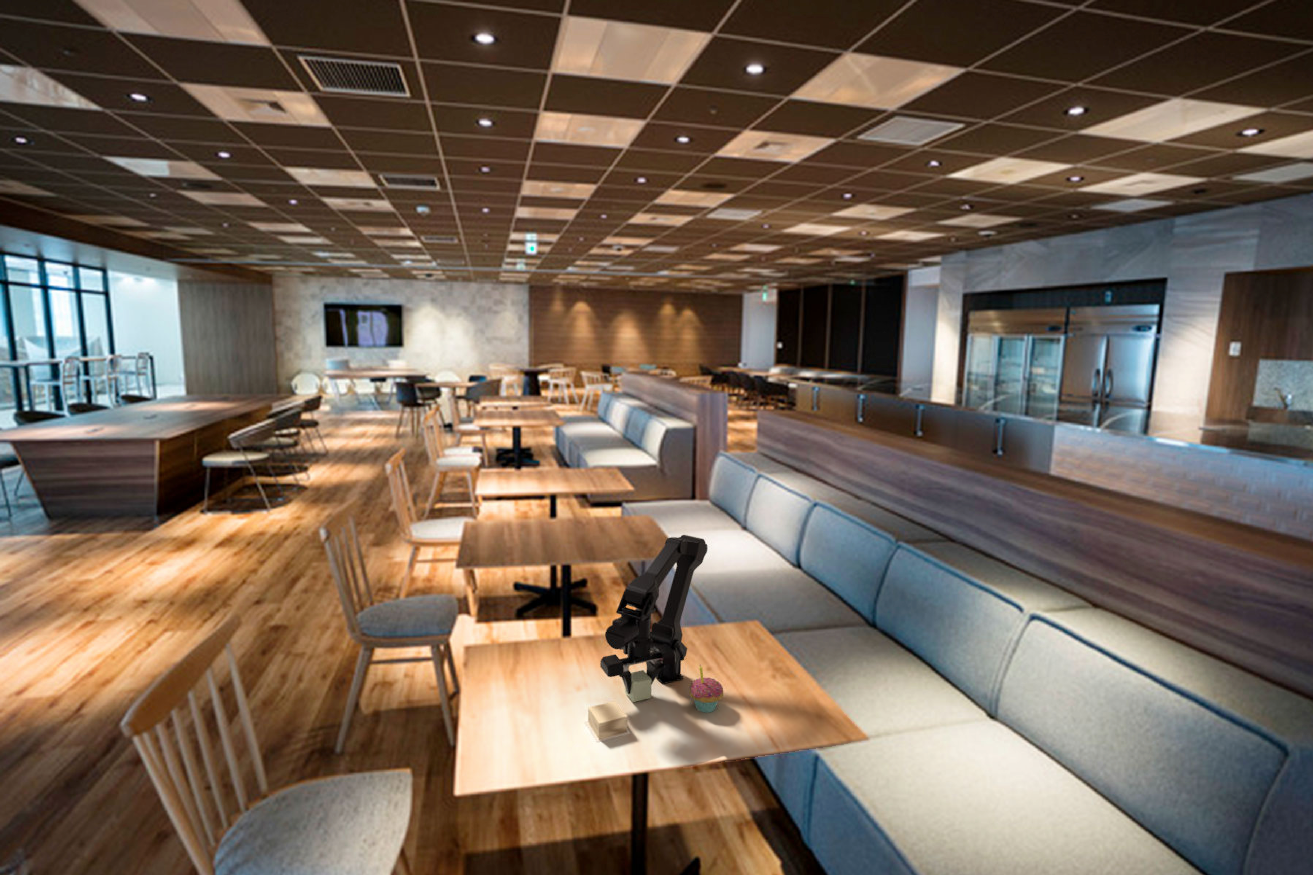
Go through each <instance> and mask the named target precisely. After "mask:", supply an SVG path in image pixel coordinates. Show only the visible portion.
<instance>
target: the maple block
mask: <svg viewBox="0 0 1313 875" xmlns="http://www.w3.org/2000/svg"><path fill="white" fill-rule="evenodd" d="M587 708H588V710H587V712H588V714H587V719H588V720H587V721H588V724H589V725H590V727H591V728H592V730H593V731H594V733H595V734H596V736H597V738H598V739H603V738H607V737H611V736H614V735H618V734H622V733H626V732H627V728H628V715H627V714H626V712H625V711H624V710H623V709H622V707H621V705H620V704H619V703H618V702H617V700H614V701H609V702H605V703H602V704H597V705H594V706H590V707H587Z"/></svg>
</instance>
